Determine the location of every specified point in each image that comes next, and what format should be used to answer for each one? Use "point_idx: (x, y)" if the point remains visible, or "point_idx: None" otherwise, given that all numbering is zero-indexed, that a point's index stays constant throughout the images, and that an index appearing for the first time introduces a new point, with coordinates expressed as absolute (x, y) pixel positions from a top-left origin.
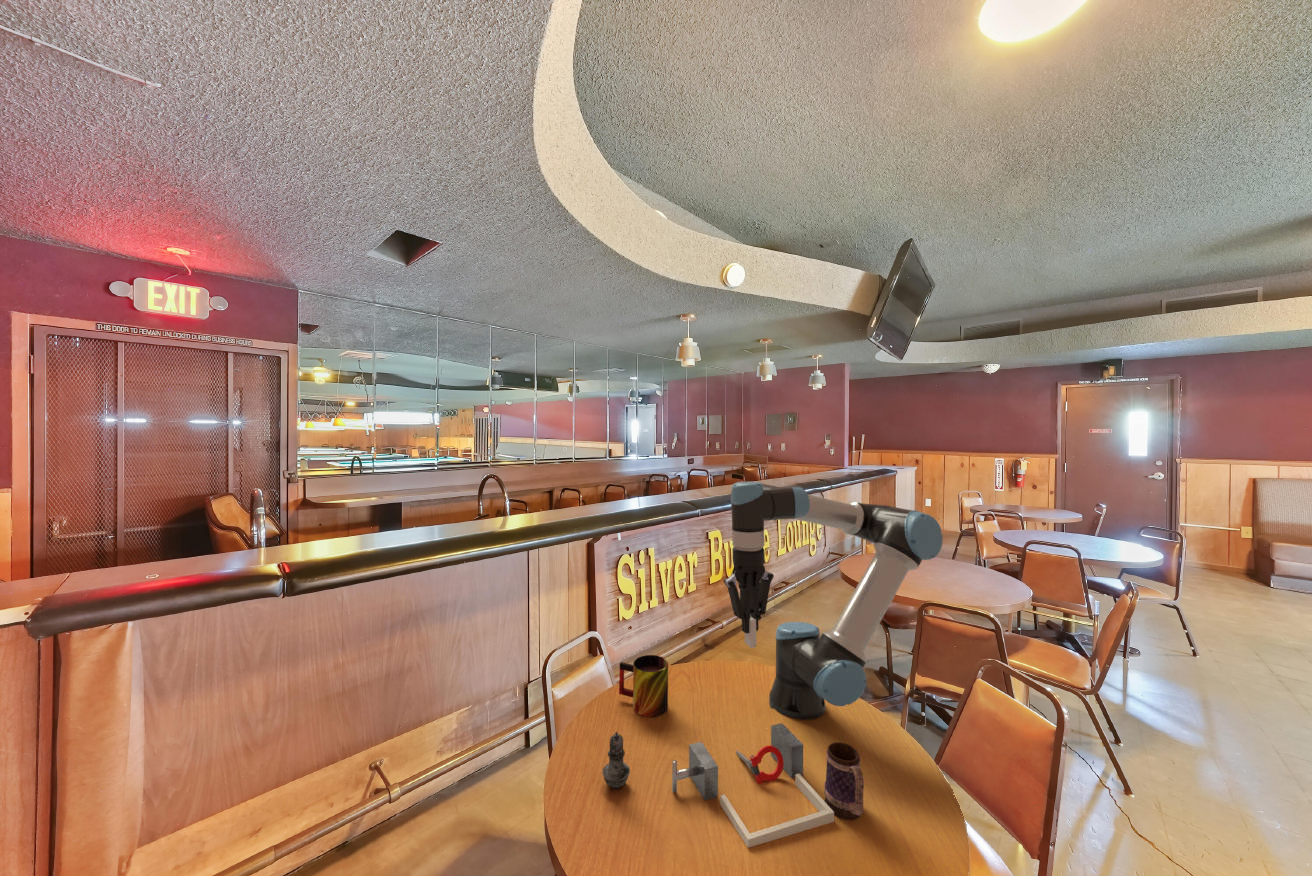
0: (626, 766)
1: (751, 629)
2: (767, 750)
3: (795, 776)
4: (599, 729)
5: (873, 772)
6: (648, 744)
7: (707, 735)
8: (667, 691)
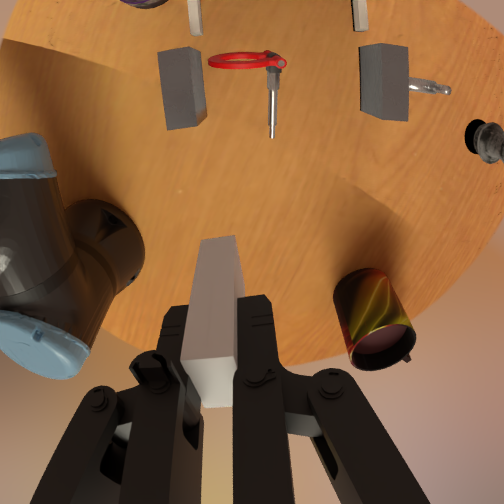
0: (481, 144)
1: (228, 303)
2: (243, 61)
3: (200, 32)
4: (450, 257)
5: (58, 57)
6: (409, 205)
7: (304, 198)
8: (346, 302)
